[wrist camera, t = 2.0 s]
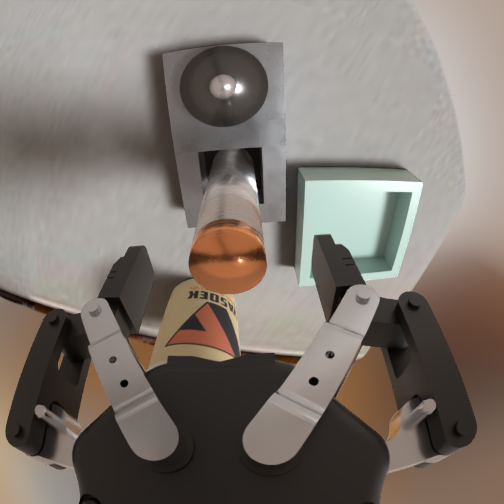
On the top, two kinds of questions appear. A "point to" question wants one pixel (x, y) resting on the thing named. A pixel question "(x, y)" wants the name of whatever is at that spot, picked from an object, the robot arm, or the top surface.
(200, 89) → the block
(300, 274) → the tray
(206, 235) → the pin
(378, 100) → the top surface
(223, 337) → the coffee cup
